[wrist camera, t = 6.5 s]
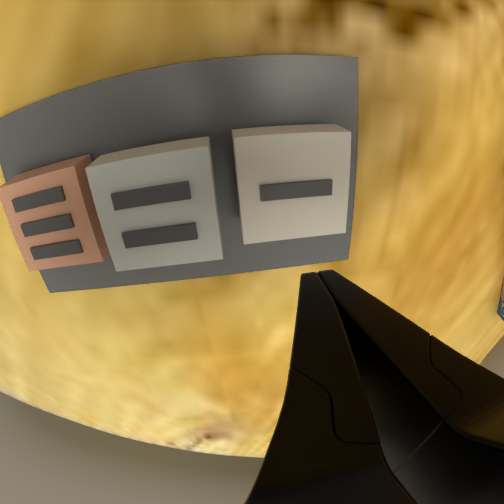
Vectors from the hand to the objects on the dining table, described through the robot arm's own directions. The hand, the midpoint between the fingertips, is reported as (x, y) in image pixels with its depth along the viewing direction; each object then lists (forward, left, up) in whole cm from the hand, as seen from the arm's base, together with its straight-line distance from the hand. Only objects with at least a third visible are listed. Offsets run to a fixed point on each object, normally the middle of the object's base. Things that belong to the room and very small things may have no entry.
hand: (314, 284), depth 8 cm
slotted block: (+11, 0, -10) cm, 15 cm away
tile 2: (+5, 0, -9) cm, 10 cm away
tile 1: (-1, 0, -10) cm, 10 cm away
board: (+5, 0, -10) cm, 11 cm away
